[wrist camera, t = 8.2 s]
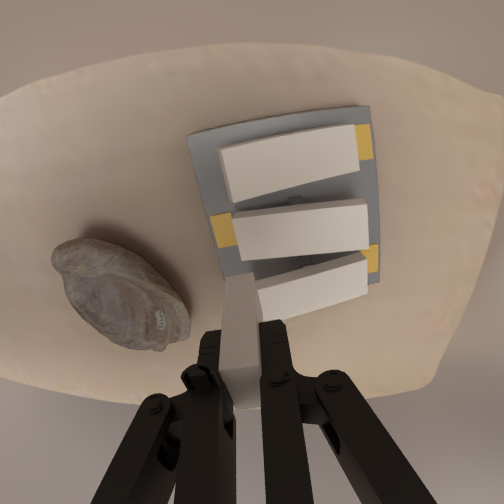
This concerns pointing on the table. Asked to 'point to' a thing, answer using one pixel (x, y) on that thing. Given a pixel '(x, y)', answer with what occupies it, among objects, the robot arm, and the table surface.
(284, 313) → the rocker
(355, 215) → the rocker
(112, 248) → the seashell
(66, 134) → the table surface
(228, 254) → the switch unit
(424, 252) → the table surface
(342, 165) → the plate
